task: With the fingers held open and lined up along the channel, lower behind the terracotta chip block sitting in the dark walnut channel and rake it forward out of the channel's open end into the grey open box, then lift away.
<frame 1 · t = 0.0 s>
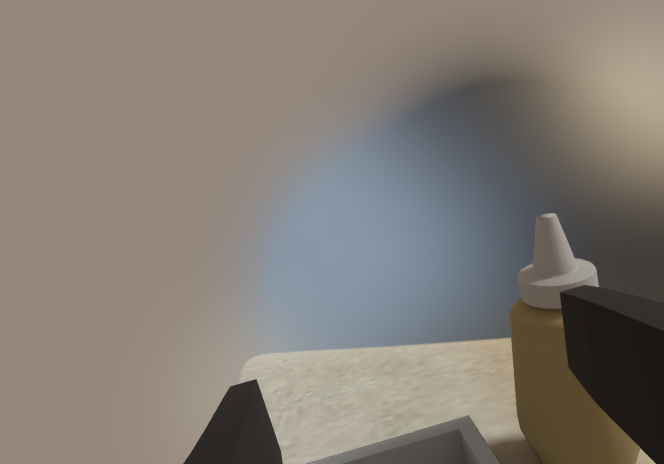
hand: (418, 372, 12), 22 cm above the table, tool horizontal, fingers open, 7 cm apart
squeeze bottle: (587, 463, 37), on the table
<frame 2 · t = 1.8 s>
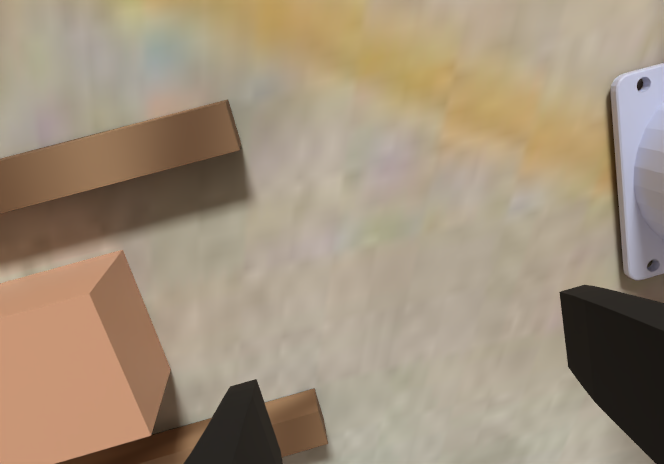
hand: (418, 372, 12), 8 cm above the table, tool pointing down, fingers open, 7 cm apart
channel: (93, 327, 19), on the table
chip block: (68, 332, 19), on the table
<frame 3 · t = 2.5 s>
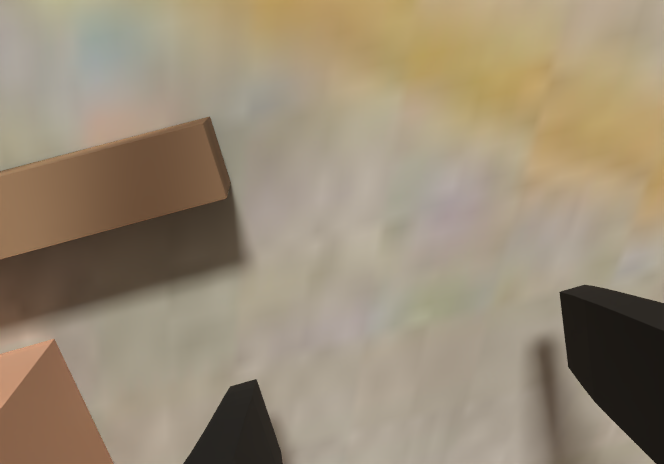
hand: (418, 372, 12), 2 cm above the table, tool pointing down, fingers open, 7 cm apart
channel: (14, 449, 13), on the table
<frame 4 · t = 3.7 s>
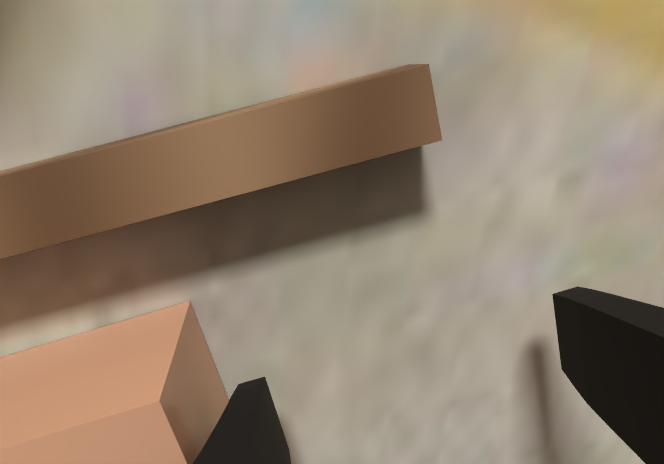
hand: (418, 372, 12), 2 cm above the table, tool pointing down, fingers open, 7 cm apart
channel: (191, 397, 13), on the table
chip block: (108, 422, 13), on the table, touching gripper
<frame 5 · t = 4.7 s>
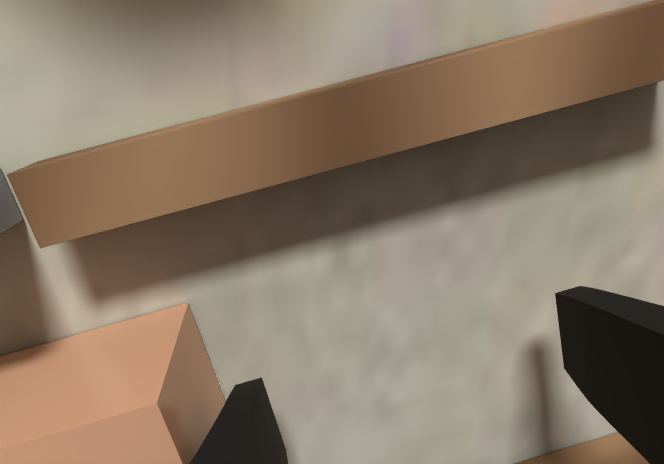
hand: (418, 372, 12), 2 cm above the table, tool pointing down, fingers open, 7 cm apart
channel: (412, 334, 14), on the table
chip block: (104, 423, 13), on the table, touching gripper
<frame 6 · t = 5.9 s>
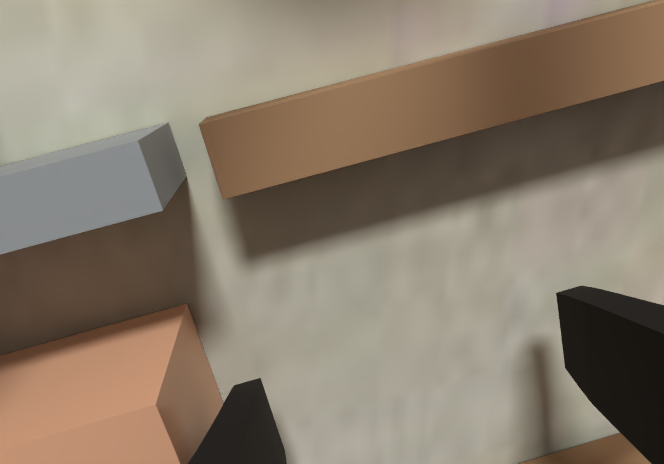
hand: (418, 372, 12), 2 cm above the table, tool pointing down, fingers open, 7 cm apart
channel: (547, 296, 14), on the table
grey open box: (51, 438, 13), on the table
chip block: (101, 424, 13), on the table, touching gripper
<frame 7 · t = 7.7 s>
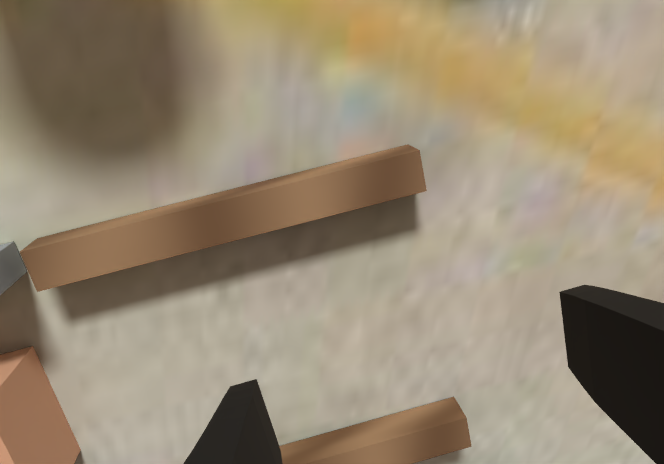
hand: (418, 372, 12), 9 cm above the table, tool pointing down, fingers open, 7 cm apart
channel: (271, 341, 22), on the table
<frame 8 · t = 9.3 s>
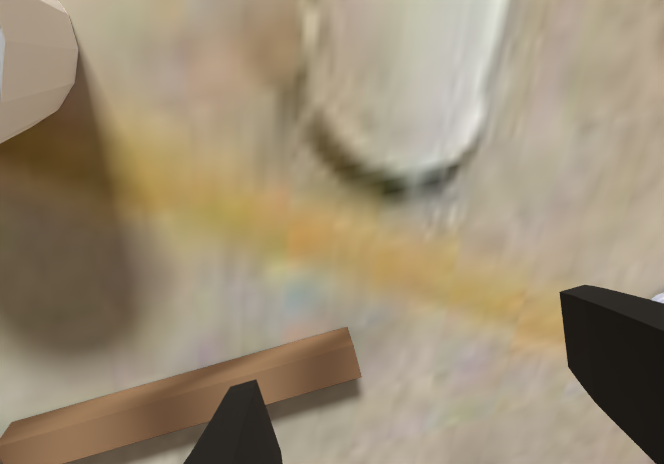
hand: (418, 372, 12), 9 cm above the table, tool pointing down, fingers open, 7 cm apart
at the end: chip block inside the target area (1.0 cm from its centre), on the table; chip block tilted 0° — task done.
